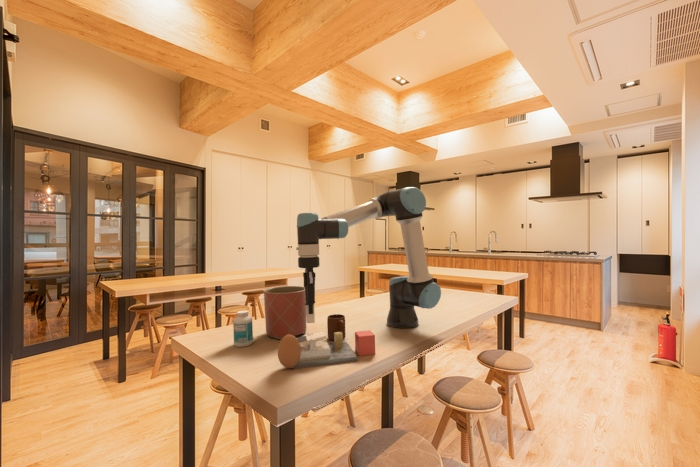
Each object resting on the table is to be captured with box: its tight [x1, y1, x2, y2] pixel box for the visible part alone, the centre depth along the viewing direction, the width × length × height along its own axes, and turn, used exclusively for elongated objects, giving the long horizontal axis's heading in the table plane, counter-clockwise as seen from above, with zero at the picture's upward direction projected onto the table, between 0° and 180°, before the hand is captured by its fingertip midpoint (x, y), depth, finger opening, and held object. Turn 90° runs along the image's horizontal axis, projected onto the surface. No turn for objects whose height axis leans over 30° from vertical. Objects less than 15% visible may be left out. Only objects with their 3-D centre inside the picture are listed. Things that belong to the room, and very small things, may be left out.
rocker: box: [296, 331, 328, 346], centre depth 113 cm, size 10×6×1 cm, turn 104°
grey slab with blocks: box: [292, 332, 358, 369], centre depth 116 cm, size 22×16×8 cm
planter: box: [263, 285, 307, 341], centre depth 144 cm, size 19×19×20 cm
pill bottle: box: [232, 309, 254, 348], centre depth 130 cm, size 8×7×14 cm
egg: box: [277, 334, 301, 369], centre depth 106 cm, size 8×8×11 cm
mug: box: [326, 313, 346, 342], centre depth 133 cm, size 12×8×9 cm, turn 23°
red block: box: [354, 329, 376, 357], centre depth 119 cm, size 6×6×7 cm
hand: (310, 322), depth 113 cm, fingers closed
